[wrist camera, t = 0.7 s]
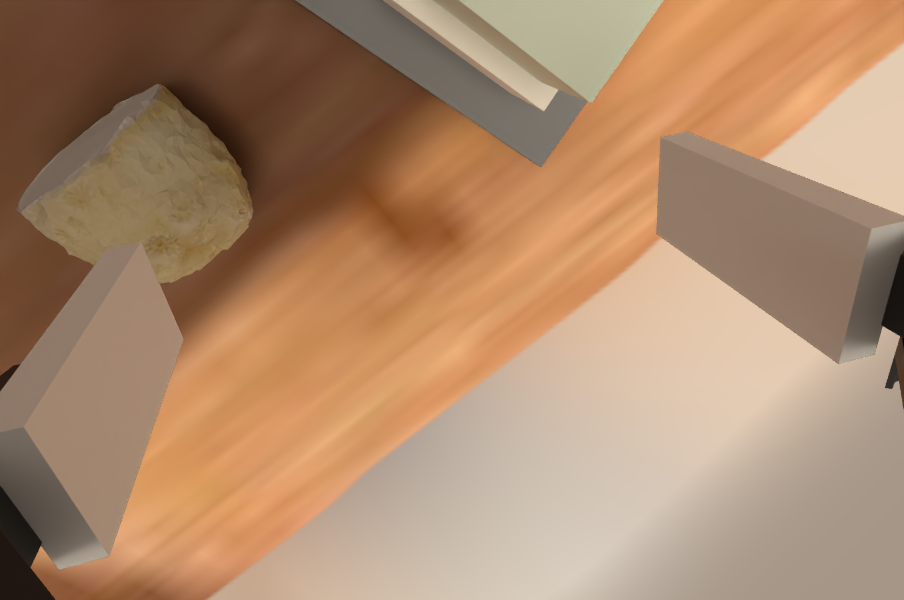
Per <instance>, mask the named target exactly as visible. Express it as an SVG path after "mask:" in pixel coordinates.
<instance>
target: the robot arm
mask: <svg viewBox="0 0 904 600" xmlns="http://www.w3.org/2000/svg"><path fill="white" fill-rule="evenodd" d="M656 234H657V235H659V236H660V237H662V238H663V239H664V240H666V241H667V242H669V243H670V244H671V245H673V246H674V247H676V248H677V249H678V250H680V251H681V252H683V253H684V254H685V255H687V256H688V257H690V258H691V259H692V260H694V261H695V262H697V263H698V264H699V265H701V266H702V267H704V268H705V269H706V270H708V271H709V272H711V273H712V274H713V275H715V276H716V277H718V278H719V279H720V280H722V281H723V282H725V283H726V284H727V285H729V286H730V287H731V288H733V289H734V290H736V291H737V292H739V293H740V294H741V295H743V296H744V297H746V298H747V299H748V300H750V301H751V302H753V303H754V304H755V305H757V306H758V307H759V308H761V309H762V310H764V311H765V312H766V313H768V314H769V315H771V316H772V317H774V318H775V319H776V320H778V321H779V322H781V323H782V324H783V325H785V326H786V327H787V328H789V329H790V330H792V331H793V332H794V333H796V334H797V335H799V336H800V337H801V338H803V339H804V340H806V341H807V342H808V343H810V344H811V345H813V346H814V347H815V348H817V349H818V350H820V351H821V352H823V353H824V354H825V355H827V356H828V357H830V358H831V359H832V360H834V361H835V362H836V363H838V364H841V363H845V362H849V361H852V360H856V359H860V358H864V357H867V356H871V355H875V352H876V348H877V344H878V341H879V337H880V334H881V330H882V327H883V326H884V327H886V328H887V329H889V330H891V331H892V332H894V333H896V334H897V335H899V336H900V339H899V343H898V346H897V349H896V352H895V356H894V359H893V363H892V366H891V369H890V372H889V376H888V379H887V382H886V386H885V388H889V389H892V388H893V385H894V383H895V382H896V381H899V383H900V390H901V396H902V402H903V408H904V216H902V215H900V214H897V213H895V212H892V211H890V210H887V209H885V208H882V207H879V206H877V205H874V204H872V203H869V202H867V201H864V200H862V199H859V198H856V197H854V196H851V195H848V194H846V193H844V192H841V191H838V190H836V189H833V188H831V187H828V186H825V185H823V184H820V183H818V182H815V181H813V180H810V179H808V178H805V177H803V176H800V175H797V174H795V173H792V172H790V171H787V170H784V169H782V168H779V167H777V166H774V165H772V164H769V163H766V162H764V161H761V160H759V159H756V158H754V157H751V156H749V155H746V154H743V153H741V152H738V151H736V150H733V149H731V148H728V147H726V146H723V145H720V144H718V143H715V142H713V141H710V140H708V139H705V138H702V137H700V136H697V135H695V134H692V133H690V132H684V133H679V134H674V135H669V136H664V137H661V139H660V161H659V183H658V206H657V228H656ZM183 340H184V339H183V337H182V334H181V332H180V330H179V327H178V325H177V323H176V321H175V318H174V316H173V314H172V311H171V309H170V307H169V305H168V302H167V300H166V298H165V295H164V293H163V291H162V289H161V286H160V284H159V282H158V279H157V277H156V275H155V273H154V270H153V268H152V266H151V263H150V261H149V259H148V257H147V254H146V252H145V250H144V247H143V245H142V243H141V242H138V243H133V244H128V245H123V246H118V247H113V248H108V249H106V251H105V252H104V253H103V255H102V256H101V257H100V259H99V260H98V262H97V263H96V264H95V266H94V267H93V268H92V270H91V271H90V272H89V274H88V275H87V276H86V278H85V279H84V280H83V282H82V283H81V284H80V286H79V287H78V288H77V290H76V291H75V292H74V294H73V295H72V296H71V298H70V299H69V300H68V302H67V303H66V304H65V306H64V307H63V308H62V310H61V311H60V312H59V314H58V315H57V316H56V318H55V319H54V320H53V322H52V323H51V324H50V326H49V327H48V328H47V330H46V331H45V332H44V334H43V335H42V336H41V338H40V339H39V340H38V342H37V343H36V344H35V346H34V347H33V348H32V350H31V351H30V352H29V354H28V355H27V357H26V358H25V359H24V361H23V362H22V363H21V364H19V365H14V366H13V367H11V368H10V369H9V370H7V371H6V372H5V373H3V374H2V375H1V376H0V600H55V599H54V597H53V596H52V595H51V593H50V592H49V591H48V590H47V588H46V587H45V586H44V585H43V583H42V582H41V581H40V579H39V578H38V577H37V576H36V574H35V573H34V572H33V571H32V569H31V568H30V567H31V565H32V563H33V561H34V559H35V557H36V555H37V552H38V550H39V548H40V546H42V548H43V549H44V550H45V552H46V553H47V554H48V556H49V557H50V558H51V560H52V561H53V562H54V564H55V565H56V566H57V568H58V569H59V570H60V569H63V568H67V567H71V566H75V565H78V564H82V563H86V562H90V561H94V560H97V559H101V558H105V557H109V556H110V553H111V550H112V547H113V544H114V541H115V538H116V535H117V532H118V529H119V526H120V523H121V521H122V518H123V515H124V512H125V509H126V506H127V503H128V500H129V497H130V494H131V491H132V488H133V486H134V483H135V480H136V477H137V474H138V471H139V468H140V465H141V462H142V459H143V456H144V453H145V451H146V448H147V445H148V442H149V439H150V436H151V433H152V430H153V427H154V424H155V421H156V418H157V415H158V413H159V410H160V407H161V404H162V401H163V398H164V395H165V392H166V389H167V386H168V383H169V380H170V378H171V375H172V372H173V369H174V366H175V363H176V360H177V357H178V354H179V351H180V348H181V345H182V343H183Z"/></svg>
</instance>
